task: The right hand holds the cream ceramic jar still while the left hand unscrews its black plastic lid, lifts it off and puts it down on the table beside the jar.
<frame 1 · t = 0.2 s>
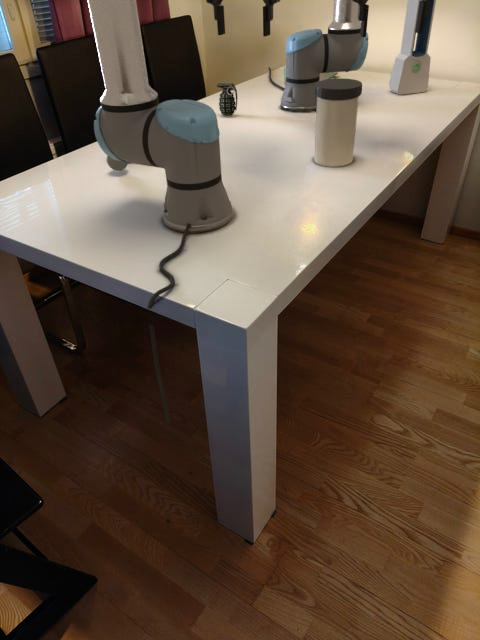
left hand: (243, 35, 129), 28 cm above the table, tool pointing down, fingers open, 13 cm apart
right hand: (390, 34, 119), 28 cm above the table, tool pointing down, fingers open, 13 cm apart
decorative block: (311, 78, 208), on the table
grenade: (228, 115, 169), on the table
jar: (333, 159, 131), on the table
electronic device: (407, 91, 183), on the table
lid: (338, 85, 120), point 19 cm above the table, screwed on, not yet turned
molecular model: (142, 156, 140), on the table
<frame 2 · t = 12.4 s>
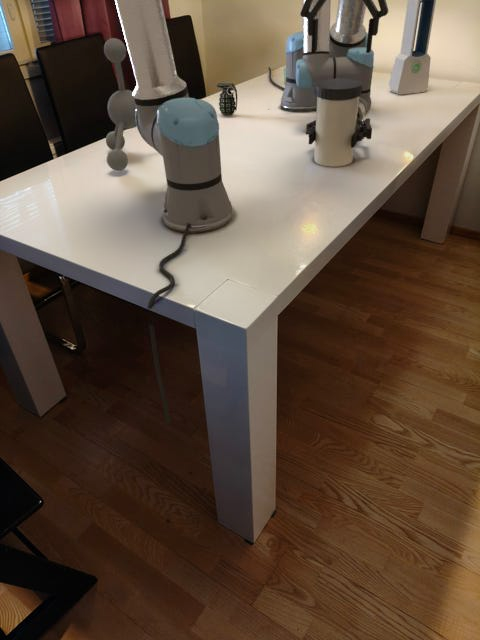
left hand: (340, 51, 115), 26 cm above the table, tool pointing down, fingers open, 12 cm apart
right hand: (331, 140, 124), 6 cm above the table, tool horizontal, fingers closed on jar, 10 cm apart
jar: (333, 159, 131), on the table, touching right hand
everything else where it was.
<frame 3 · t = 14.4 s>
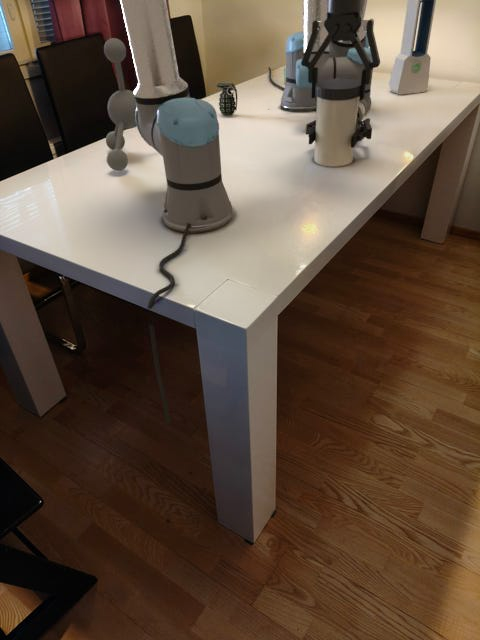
left hand: (337, 97, 122), 16 cm above the table, tool pointing down, fingers closed on lid, 11 cm apart
right hand: (331, 140, 124), 6 cm above the table, tool horizontal, fingers closed on jar, 10 cm apart
jar: (333, 159, 131), on the table, touching right hand
lid: (338, 85, 120), point 19 cm above the table, screwed on, not yet turned, touching left hand
everything else where it was.
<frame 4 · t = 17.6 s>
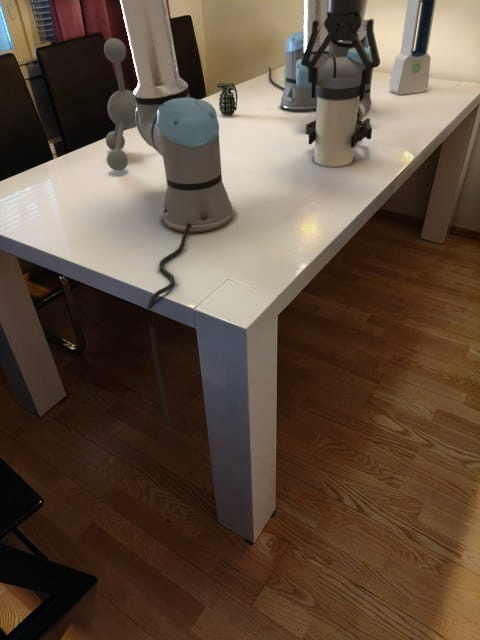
left hand: (337, 97, 122), 16 cm above the table, tool pointing down, fingers closed on lid, 11 cm apart
right hand: (331, 140, 124), 6 cm above the table, tool horizontal, fingers closed on jar, 10 cm apart
jar: (333, 159, 131), on the table, touching right hand
lid: (338, 84, 120), point 19 cm above the table, turned 100° so far, risen 0.1 cm, still on its thread, touching left hand
everything else where it was.
when the left hand's fingers open (1 cm above the table, at t = 30.9 s): lid drops 2 cm, point 2 cm above the table.
when the right hand's fingers open (6 cm above the table, at t = 31.9 s): jar stays where it is, on the table.
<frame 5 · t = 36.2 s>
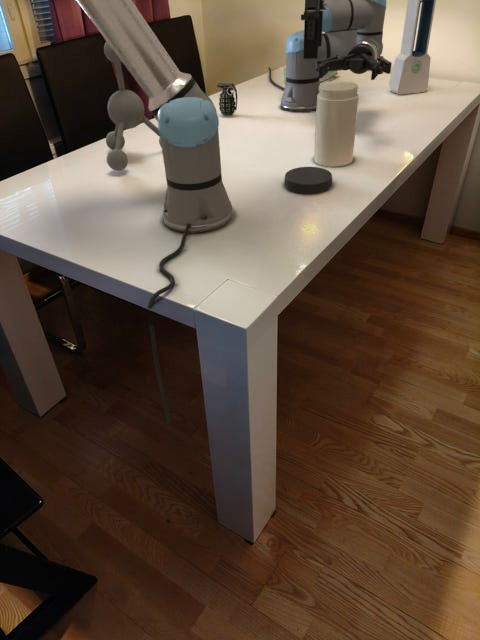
left hand: (312, 52, 101), 29 cm above the table, tool pointing down, fingers open, 13 cm apart
right hand: (346, 73, 126), 19 cm above the table, tool horizontal, fingers open, 13 cm apart
jar: (333, 159, 131), on the table
lid: (308, 176, 118), point 2 cm above the table, off its thread
everything else where it was.
at the end: lid came off its thread; lid point 2.1 cm above the table; the left hand is holding nothing; the right hand is holding nothing; jar tilted 0°; jar moved 0.0 cm from its start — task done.
